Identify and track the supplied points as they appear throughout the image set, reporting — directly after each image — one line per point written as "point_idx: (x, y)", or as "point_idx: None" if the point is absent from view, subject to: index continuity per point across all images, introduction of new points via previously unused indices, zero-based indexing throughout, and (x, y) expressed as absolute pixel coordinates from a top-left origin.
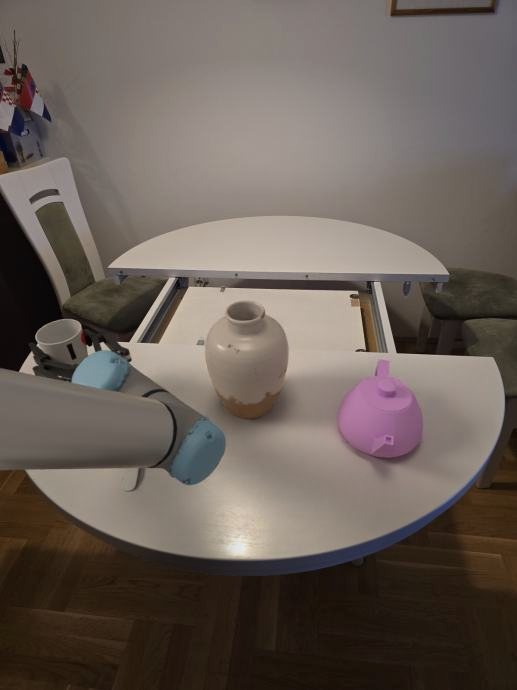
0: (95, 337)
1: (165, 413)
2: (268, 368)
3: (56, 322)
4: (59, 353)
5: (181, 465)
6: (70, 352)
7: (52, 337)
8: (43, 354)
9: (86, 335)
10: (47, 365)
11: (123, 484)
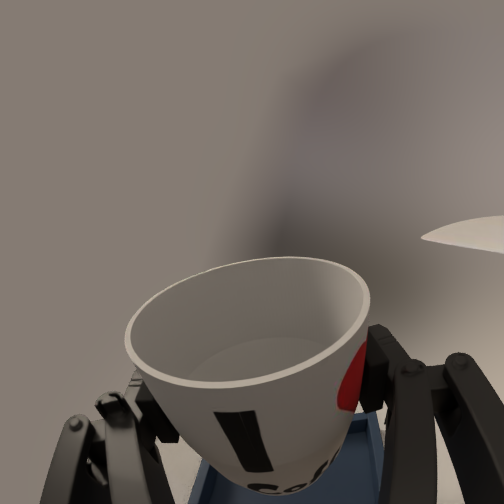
0: (419, 391)
1: None
2: None
3: (273, 264)
4: (181, 426)
5: None
6: (240, 449)
7: (246, 321)
8: None
9: (376, 363)
10: (109, 447)
11: None
